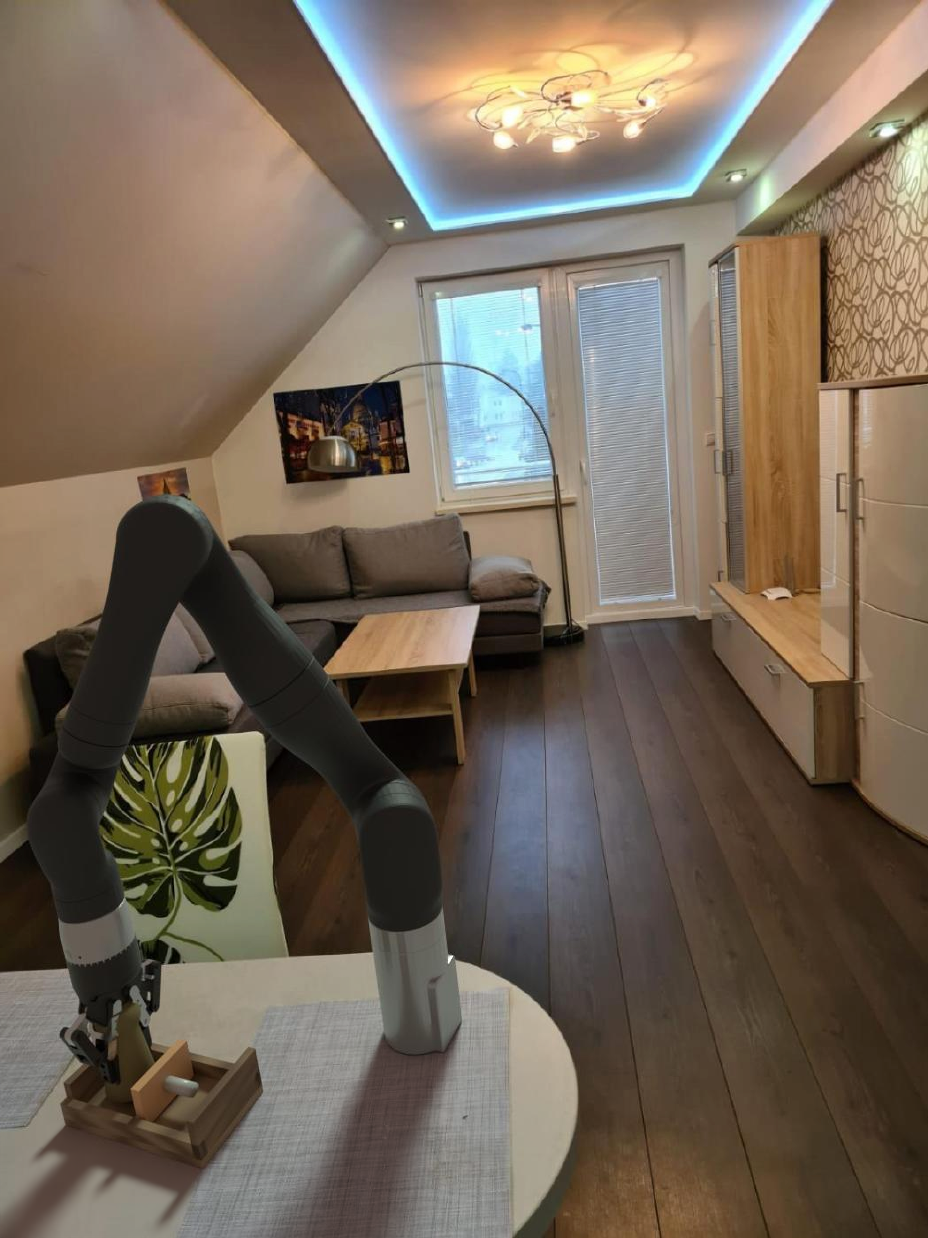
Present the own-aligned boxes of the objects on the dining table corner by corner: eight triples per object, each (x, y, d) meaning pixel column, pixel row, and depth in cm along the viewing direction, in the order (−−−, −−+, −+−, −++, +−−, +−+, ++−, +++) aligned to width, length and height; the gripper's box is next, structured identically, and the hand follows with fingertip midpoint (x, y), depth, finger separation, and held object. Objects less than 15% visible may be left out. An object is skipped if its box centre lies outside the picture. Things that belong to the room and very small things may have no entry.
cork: (140, 1105, 97) (121, 1023, 94) (94, 1101, 98) (74, 1020, 95) (168, 1065, 102) (151, 987, 100) (124, 1062, 104) (106, 985, 101)
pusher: (219, 1082, 100) (212, 1047, 99) (173, 1136, 93) (165, 1099, 92) (186, 1073, 102) (178, 1038, 101) (138, 1126, 95) (130, 1089, 94)
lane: (263, 1091, 100) (255, 1048, 99) (203, 1169, 90) (193, 1123, 89) (133, 1056, 108) (124, 1017, 106) (65, 1125, 98) (54, 1082, 96)
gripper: (75, 987, 88) (108, 1122, 92) (168, 909, 100) (194, 1031, 104) (23, 975, 91) (58, 1107, 95) (120, 901, 103) (147, 1020, 107)
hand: (129, 1066), depth 100 cm, fingers closed on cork, 4 cm apart
